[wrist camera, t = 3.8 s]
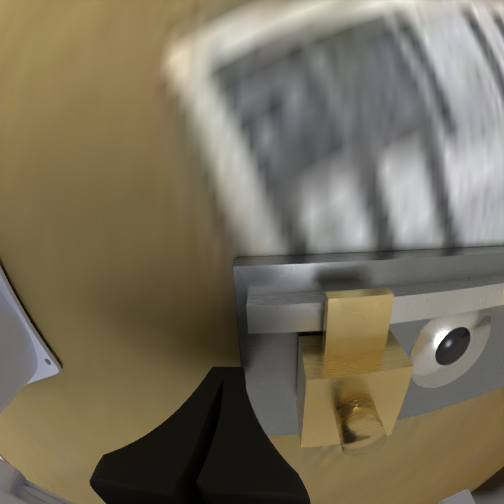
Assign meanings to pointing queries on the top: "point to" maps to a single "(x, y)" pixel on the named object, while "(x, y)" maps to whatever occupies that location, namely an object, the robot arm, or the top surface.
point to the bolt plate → (401, 324)
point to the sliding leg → (351, 374)
